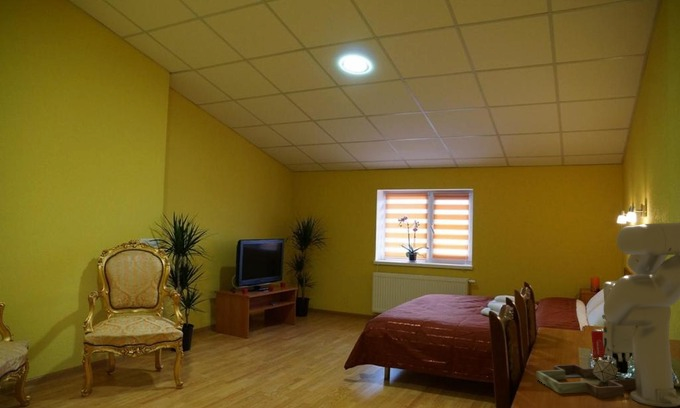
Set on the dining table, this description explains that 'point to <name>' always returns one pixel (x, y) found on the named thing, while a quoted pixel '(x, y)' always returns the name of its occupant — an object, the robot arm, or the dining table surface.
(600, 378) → the game die
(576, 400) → the dining table surface
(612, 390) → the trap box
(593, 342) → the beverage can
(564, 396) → the dining table surface
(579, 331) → the dining table surface
